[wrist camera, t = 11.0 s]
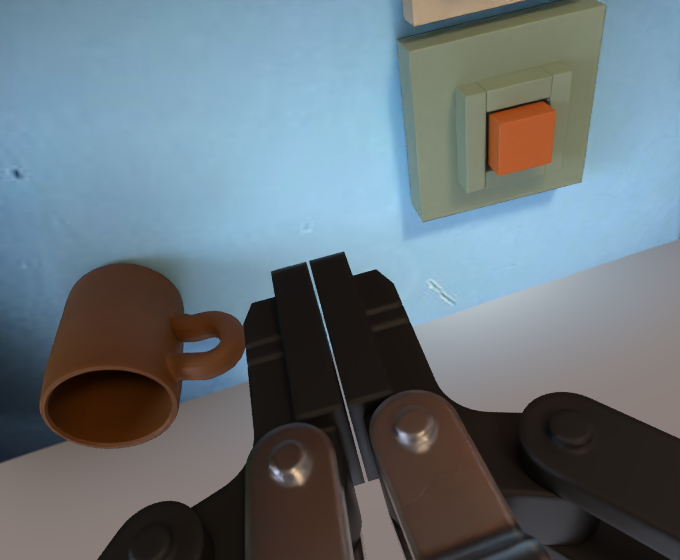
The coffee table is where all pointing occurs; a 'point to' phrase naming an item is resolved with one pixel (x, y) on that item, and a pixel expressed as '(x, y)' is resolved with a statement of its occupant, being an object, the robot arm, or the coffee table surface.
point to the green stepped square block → (496, 101)
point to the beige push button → (445, 9)
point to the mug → (128, 357)
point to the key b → (521, 138)
